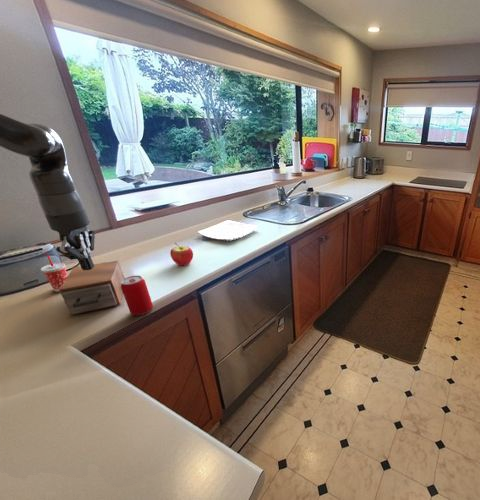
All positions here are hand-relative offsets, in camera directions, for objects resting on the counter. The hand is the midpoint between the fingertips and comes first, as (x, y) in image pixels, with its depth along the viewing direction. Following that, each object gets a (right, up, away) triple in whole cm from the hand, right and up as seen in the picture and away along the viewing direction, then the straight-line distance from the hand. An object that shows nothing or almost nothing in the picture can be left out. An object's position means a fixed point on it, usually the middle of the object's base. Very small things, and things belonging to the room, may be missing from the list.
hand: (88, 268), depth 79 cm
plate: (+6, +15, +77) cm, 79 cm away
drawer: (-12, -12, +16) cm, 23 cm away
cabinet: (-14, -11, +20) cm, 27 cm away
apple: (+1, -1, +44) cm, 44 cm away
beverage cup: (-32, -9, +24) cm, 40 cm away
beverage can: (+5, -15, +14) cm, 21 cm away
